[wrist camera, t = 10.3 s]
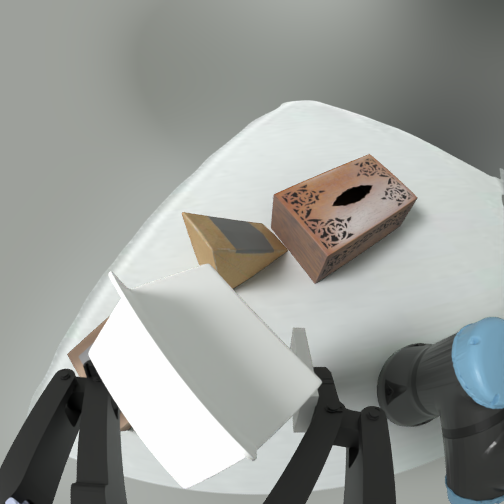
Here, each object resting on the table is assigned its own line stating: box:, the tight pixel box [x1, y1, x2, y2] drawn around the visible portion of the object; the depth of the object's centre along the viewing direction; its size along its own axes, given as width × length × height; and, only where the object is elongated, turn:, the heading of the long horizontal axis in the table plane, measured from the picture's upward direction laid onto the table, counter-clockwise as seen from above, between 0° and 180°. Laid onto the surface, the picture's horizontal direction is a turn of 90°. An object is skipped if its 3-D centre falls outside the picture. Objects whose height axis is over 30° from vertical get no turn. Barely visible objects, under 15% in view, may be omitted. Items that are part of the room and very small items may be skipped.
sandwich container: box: [182, 212, 288, 289], centre depth 46 cm, size 9×15×15 cm, turn 128°
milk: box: [89, 264, 322, 489], centre depth 15 cm, size 6×6×22 cm
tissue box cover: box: [271, 154, 417, 283], centre depth 52 cm, size 26×14×10 cm, turn 121°
